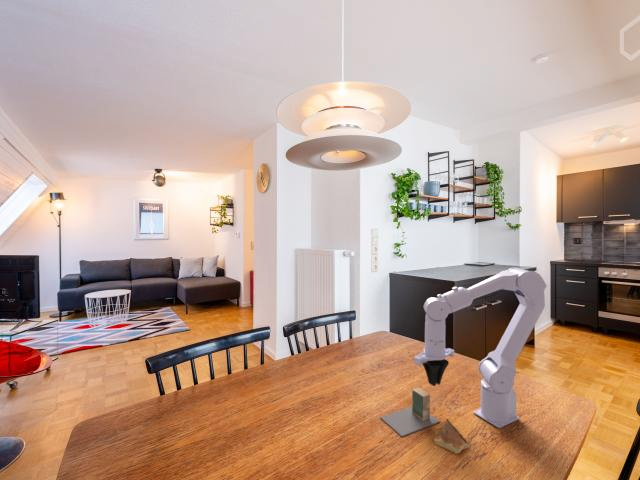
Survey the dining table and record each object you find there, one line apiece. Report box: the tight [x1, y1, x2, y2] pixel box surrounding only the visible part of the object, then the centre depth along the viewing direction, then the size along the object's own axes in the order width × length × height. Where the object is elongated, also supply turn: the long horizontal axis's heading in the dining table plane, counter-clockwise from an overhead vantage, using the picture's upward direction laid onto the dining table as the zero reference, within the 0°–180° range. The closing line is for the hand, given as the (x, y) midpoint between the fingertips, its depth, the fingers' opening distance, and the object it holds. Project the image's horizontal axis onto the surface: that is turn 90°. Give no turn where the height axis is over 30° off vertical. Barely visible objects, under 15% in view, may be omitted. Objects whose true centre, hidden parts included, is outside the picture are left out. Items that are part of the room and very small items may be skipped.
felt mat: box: [380, 405, 441, 438], centre depth 87 cm, size 14×9×1 cm, turn 117°
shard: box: [433, 418, 471, 454], centre depth 79 cm, size 11×8×2 cm
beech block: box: [411, 386, 431, 421], centre depth 88 cm, size 2×4×7 cm, turn 27°
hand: (434, 383), depth 91 cm, fingers closed
